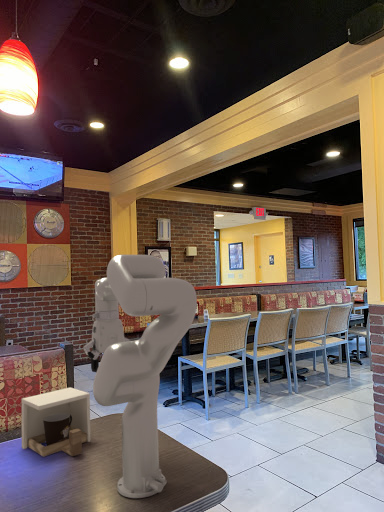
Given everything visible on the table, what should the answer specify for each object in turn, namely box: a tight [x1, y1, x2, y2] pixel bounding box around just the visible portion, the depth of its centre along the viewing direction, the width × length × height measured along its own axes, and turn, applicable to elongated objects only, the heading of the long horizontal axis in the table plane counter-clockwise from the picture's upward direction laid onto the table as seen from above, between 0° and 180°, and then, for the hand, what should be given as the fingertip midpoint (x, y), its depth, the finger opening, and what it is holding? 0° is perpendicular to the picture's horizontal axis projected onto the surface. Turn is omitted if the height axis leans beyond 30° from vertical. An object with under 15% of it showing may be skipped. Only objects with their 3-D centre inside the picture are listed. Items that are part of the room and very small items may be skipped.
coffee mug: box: [43, 413, 72, 446], centre depth 126 cm, size 12×9×10 cm
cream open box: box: [21, 387, 91, 450], centre depth 128 cm, size 14×18×16 cm
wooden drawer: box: [27, 426, 87, 457], centre depth 125 cm, size 20×15×7 cm
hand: (108, 369), depth 121 cm, fingers open, 9 cm apart
